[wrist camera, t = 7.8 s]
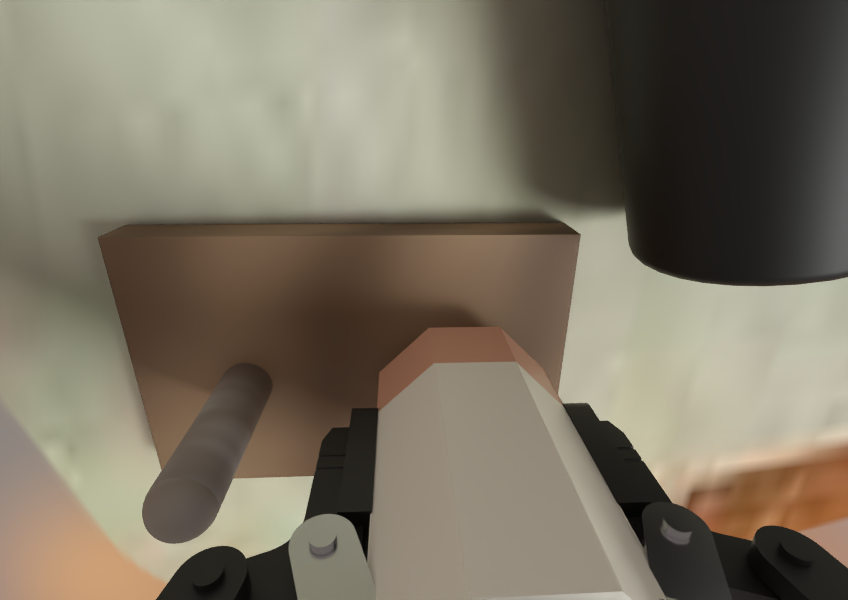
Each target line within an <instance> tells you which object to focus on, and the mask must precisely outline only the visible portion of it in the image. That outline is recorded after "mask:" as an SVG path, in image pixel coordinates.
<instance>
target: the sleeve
mask: <svg viewBox="0 0 848 600" xmlns="http://www.w3.org/2000/svg"><path fill="white" fill-rule="evenodd" d="M377 408H378V420H377V437H376V454H375V470H374V487H373V504H372V513H371V514H370V525H369V541H368V556H367V564H368V567H369V569H370V572H371V575H372V578H373V581H374V583H375V586H376V599H375V600H659V598H660V599H664V600H666V597H665V595H664V593H663V591H662V590H661V588H660V586H659V584H658V582H657V580H656V579H655V577H654V575H653V573H652V571H651V570H650V568H649V565H648V562H647V559H646V555H645V552H644V549H643V547H642V545H641V543H640V541H639V540H638V538H637V536H636V534H635V532H634V531H633V529H632V527H631V525H630V523H629V522H628V520H627V518H626V516H625V514H624V513H623V511H622V509H621V507H620V505H618V503H617V502H616V500H615V498H614V496H613V494H612V493H611V491H610V489H609V487H608V485H607V484H606V482H605V480H604V478H603V476H602V475H601V473H600V471H599V469H598V467H597V466H596V464H595V462H594V460H593V458H592V457H591V455H590V453H589V451H588V449H587V447H586V446H585V444H584V442H583V440H582V438H581V437H580V435H579V433H578V431H577V429H576V428H575V426H574V424H573V422H572V420H571V419H570V417H569V415H568V413H567V411H566V410H565V408H564V406H563V403H562V401H561V399H560V398H559V396H558V394H557V392H556V390H555V389H554V387H553V385H552V383H551V381H550V380H549V378H548V376H547V374H546V372H545V371H544V369H543V368H542V367H541V366H540V365H539V364H538V363H537V362H536V361H535V360H534V359H533V358H531V357H530V356H529V355H528V354H527V353H526V352H525V351H524V350H523V349H522V348H521V347H520V346H519V345H518V344H517V343H516V342H515V341H514V340H513V339H512V338H511V337H510V336H509V335H508V334H507V333H506V332H505V331H504V330H503V329H501V328H500V327H441V328H428V329H427V330H426V331H425V332H424V333H422V334H421V335H420V336H419V337H418V338H417V339H416V340H415V341H414V342H412V343H411V344H410V345H409V346H408V347H407V348H406V349H405V350H404V351H403V352H401V353H400V354H399V355H398V356H397V357H396V358H395V359H394V360H393V361H391V362H390V363H389V364H388V365H387V366H386V367H385V368H384V369H383V370H381V371H380V372H379V385H378V401H377Z"/></svg>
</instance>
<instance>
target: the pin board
mask: <svg viewBox="0 0 848 600" xmlns="http://www.w3.org/2000/svg"><path fill="white" fill-rule="evenodd" d="M580 235H581V234H579V233H578V232H576V231H575V230H574V229H572V228H571V227H569V226H568V225H566V224H565V223H407V224H201V225H125V226H123V227H120V228H118V229H116V230H114V231H111V232H109V233H107V234H105V235H102V236H100V237H98V240H99V244H100V247H101V251H102V254H103V258H104V262H105V265H106V269H107V273H108V276H109V280H110V284H111V287H112V291H113V295H114V298H115V302H116V305H117V309H118V313H119V316H120V320H121V324H122V327H123V331H124V335H125V338H126V342H127V346H128V349H129V353H130V356H131V360H132V364H133V367H134V371H135V375H136V378H137V382H138V386H139V389H140V393H141V397H142V400H143V404H144V407H145V411H146V415H147V418H148V422H149V426H150V429H151V433H152V437H153V440H154V444H155V448H156V451H157V455H158V458H159V462H160V466H161V469H162V471H161V473H160V474H159V476H158V477H157V479H156V480H155V482H154V484H153V485H152V487H151V488H150V490H149V492H148V493H147V495H146V497H145V500H144V503H143V509H142V517H143V522H144V525H145V527H146V529H147V531H148V532H149V533H150V534H151V535H152V536H153V537H154V538H156V539H157V540H159V541H162V542H165V543H171V544H176V543H183V542H187V541H190V540H192V539H194V538H196V537H198V536H199V535H201V534H202V533H203V532H205V531H206V530H207V529H208V527H209V526H210V525H211V524H212V523H213V521H214V520H215V518H216V516H217V513H218V511H219V509H220V507H221V504H222V502H223V500H224V498H225V495H226V493H227V491H228V489H229V486H230V484H231V482H232V480H233V478H261V477H293V476H314V474H315V471H316V465H317V461H318V459H319V452H320V447H321V443H322V440H323V439H324V438H325V436H326V435H327V434H328V433H329V431H330V430H331V429H332V428H338V427H349V426H350V419H351V412H352V408H377V401H378V385H379V372H380V371H381V370H383V369H384V368H385V367H386V366H387V365H388V364H389V363H390V362H391V361H393V360H394V359H395V358H396V357H397V356H398V355H399V354H400V353H401V352H403V351H404V350H405V349H406V348H407V347H408V346H409V345H410V344H411V343H412V342H414V341H415V340H416V339H417V338H418V337H419V336H420V335H421V334H422V333H424V332H425V331H426V330H427V329H428V328H441V327H500V328H501V329H503V330H504V331H505V332H506V333H507V334H508V335H509V336H510V337H511V338H512V339H513V340H514V341H515V342H516V343H517V344H518V345H519V346H520V347H521V348H522V349H523V350H524V351H525V352H526V353H527V354H528V355H529V356H530V357H531V358H533V359H534V360H535V361H536V362H537V363H538V364H539V365H540V366H541V367H542V368H543V369H544V371H545V372H546V374H547V376H548V378H549V380H550V381H551V383H552V385H553V387H554V389H555V390H556V392H557V394H558V389H559V382H560V375H561V368H562V361H563V354H564V347H565V340H566V333H567V326H568V319H569V312H570V305H571V298H572V291H573V284H574V277H575V270H576V263H577V256H578V249H579V242H580Z"/></svg>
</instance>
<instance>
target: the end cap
mask: <svg viewBox="0 0 848 600" xmlns="http://www.w3.org/2000/svg"><path fill="white" fill-rule="evenodd" d="M605 5H606V15H607V25H608V36H609V46H610V56H611V67H612V77H613V87H614V97H615V108H616V118H617V128H618V139H619V149H620V159H621V169H622V180H623V190H624V200H625V211H626V221H627V231H628V241H629V246H630V248H631V251H632V253H633V255H634V256H635V257H636V258H637V259H638V260H640V261H641V262H642V263H643V264H644V265H646V266H648V267H650V268H652V269H654V270H656V271H658V272H660V273H664V274H667V275H670V276H673V277H677V278H681V279H686V280H691V281H697V282H702V283H711V284H722V285H733V286H777V285H797V284H806V283H814V282H822V281H830V280H836V279H840V278H845V277H848V0H605Z"/></svg>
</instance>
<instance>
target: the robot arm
mask: <svg viewBox="0 0 848 600" xmlns="http://www.w3.org/2000/svg"><path fill="white" fill-rule="evenodd" d="M563 406H564V408H565V410H566V411H567V413H568V415H569V417H570V419H571V420H572V422H573V424H574V426H575V428H576V429H577V431H578V433H579V435H580V437H581V438H582V440H583V442H584V444H585V446H586V447H587V449H588V451H589V453H590V455H591V457H592V458H593V460H594V462H595V464H596V466H597V467H598V469H599V471H600V473H601V475H602V476H603V478H604V480H605V482H606V484H607V485H608V487H609V489H610V491H611V493H612V494H613V496H614V498H615V500H616V502H617V503H618V505H620V507H621V509H622V511H623V513H624V514H625V516H626V518H627V520H628V522H629V523H630V525H631V527H632V529H633V531H634V532H635V534H636V536H637V538H638V540H639V541H640V543H641V545H642V547H643V549H644V552H645V555H646V559H647V562H648V565H649V568H650V570H651V571H652V573H653V575H654V577H655V579H656V580H657V582H658V584H659V586H660V588H661V590H662V591H663V593H664V595H665V597H666V600H848V568H847V567H845V566H844V565H843V564H842V563H840V562H839V561H838V560H836V559H835V558H834V557H833V556H832V555H831V554H829V553H828V552H827V551H826V550H824V549H823V548H822V547H820V545H818V544H817V543H816V542H814V541H813V540H811V539H809V538H808V537H806V536H804V535H802V534H801V533H798V532H796V531H794V530H791V529H788V528H784V527H780V526H764V527H762V528H760V529H758V530H757V532H756V533H755V536H754V538H753V541H750V540H746V539H741V538H737V537H732V536H728V535H724V534H719V533H716V532H712V531H711V530H710V529H709V527H708V526H707V525H706V523H705V522H704V521H703V520H702V519H701V518H700V517H699V516H697V515H696V514H695V513H693V512H692V511H690V510H688V509H686V508H684V507H682V506H680V505H677V504H673V503H672V502H671V501H670V499H669V498H668V496H667V495H666V493H665V492H664V490H663V489H662V488H661V486H660V485H659V483H658V482H657V480H656V479H655V477H654V476H653V475H652V473H651V472H650V470H649V469H648V467H647V466H646V464H645V463H644V462H643V461H641V457H640V456H639V454H638V453H637V451H636V450H634V449H633V446H632V444H631V443H630V441H629V440H628V438H627V437H626V435H625V434H624V433H623V432H622V431H621V430H619V429H618V428H617V427H615V426H614V425H613V424H611V423H610V422H609V421H599V419H598V418H597V416H596V414H595V413H594V411H593V410H592V408H591V407H590V405H589V404H587V403H569V404H563ZM377 420H378V408H352V412H351V419H350V426H349V427H338V428H332V429H331V430H330V431H329V433H328V434H327V435H326V436H325V438H324V439H323V440H322V443H321V447H320V452H319V459H318V461H317V465H316V471H315V474H314V479H313V483H312V488H311V492H310V497H309V501H308V506H307V510H306V515H305V519H304V522H303V523H302V524H301V525H300V526H299V527H298V528H297V529H296V530H295V531H294V533H293V535H292V536H291V539H290V540H289V541H288V542H286V543H285V544H283V545H282V546H280V547H278V548H276V549H273V550H271V551H268V552H265V553H262V554H259V555H256V556H253V557H250V558H247V559H246V558H245V556H244V555H243V553H241V552H240V551H239V550H237V549H235V548H233V547H229V546H217V547H212V548H209V549H206V550H203V551H201V552H199V553H197V554H195V555H194V556H192V557H191V558H189V559H188V560H187V561H186V562H185V563H184V564H183V565H182V566H181V567H180V568H179V569H178V570H177V571H176V573H175V574H174V576H173V577H172V578H171V580H170V581H169V582H168V584H167V585H166V587H165V588H164V589H163V591H162V592H161V594H160V595H159V596H158V598H157V599H156V600H375V599H376V586H375V583H374V581H373V578H372V575H371V572H370V569H369V567H368V564H367V556H368V541H369V525H370V514H371V513H372V504H373V487H374V470H375V454H376V437H377ZM659 600H664V599H660V598H659Z"/></svg>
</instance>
